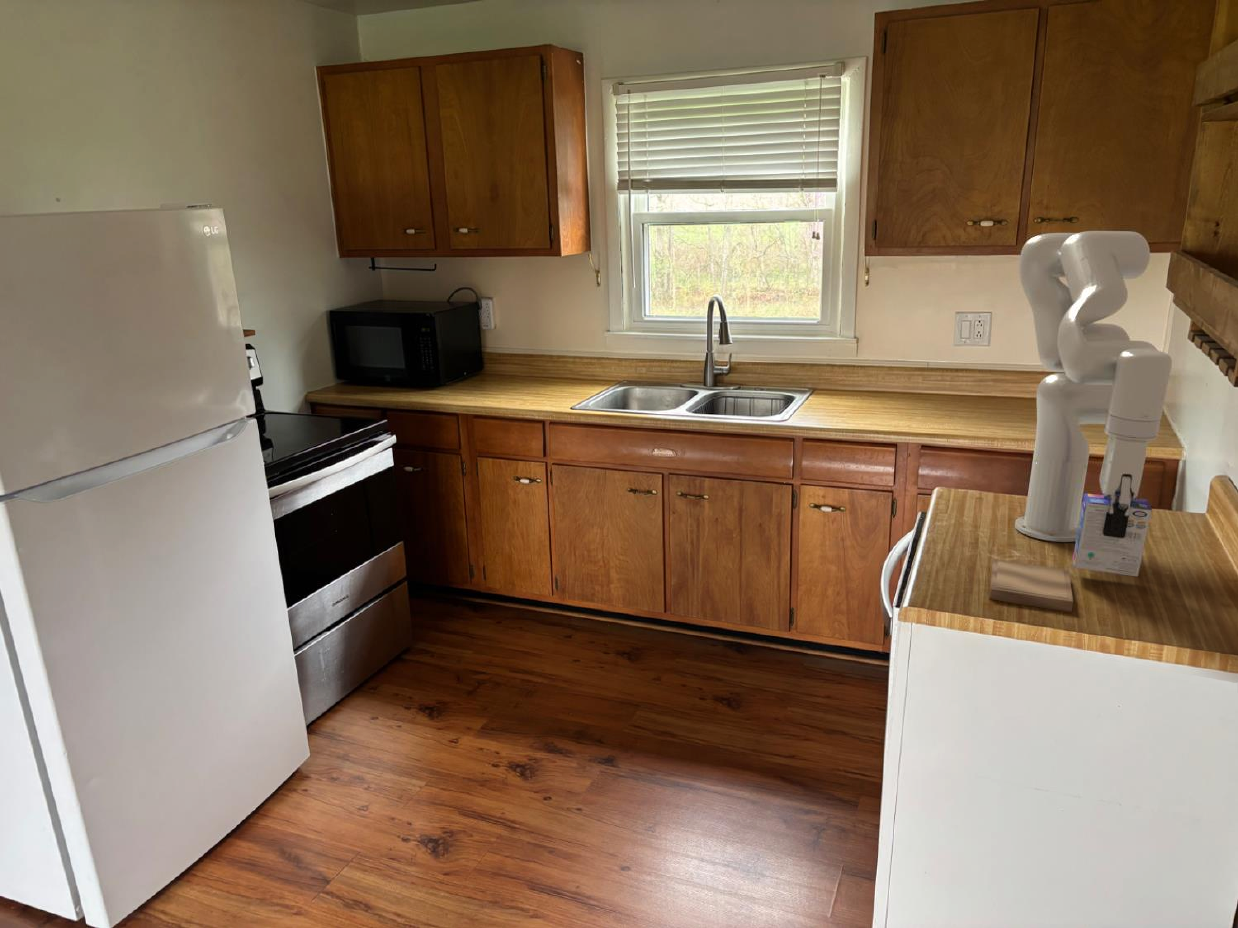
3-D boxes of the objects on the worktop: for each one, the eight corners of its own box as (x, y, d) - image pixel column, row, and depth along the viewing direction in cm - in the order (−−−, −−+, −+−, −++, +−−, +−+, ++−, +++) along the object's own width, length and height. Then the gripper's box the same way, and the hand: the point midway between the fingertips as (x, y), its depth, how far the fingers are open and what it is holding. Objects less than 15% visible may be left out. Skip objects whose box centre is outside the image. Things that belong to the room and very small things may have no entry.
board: (991, 568, 157) (993, 558, 157) (1067, 579, 153) (1068, 569, 152) (989, 598, 145) (991, 588, 144) (1071, 612, 140) (1073, 601, 140)
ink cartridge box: (1134, 564, 153) (1151, 485, 148) (1139, 578, 148) (1157, 497, 143) (1070, 556, 156) (1085, 478, 151) (1074, 569, 151) (1089, 489, 146)
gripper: (1101, 411, 153) (1083, 509, 159) (1110, 437, 138) (1090, 544, 144) (1151, 416, 150) (1131, 515, 156) (1165, 443, 135) (1143, 552, 141)
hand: (1111, 528), depth 150 cm, fingers closed on ink cartridge box, 5 cm apart
